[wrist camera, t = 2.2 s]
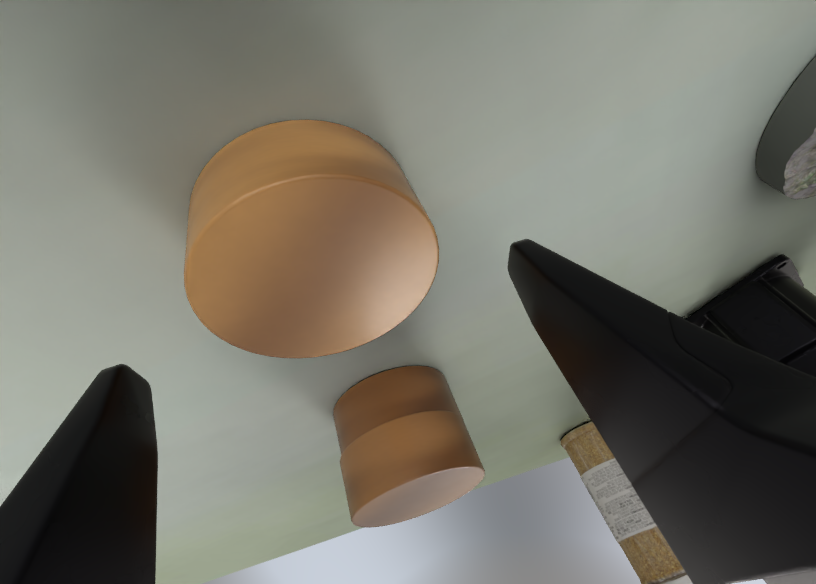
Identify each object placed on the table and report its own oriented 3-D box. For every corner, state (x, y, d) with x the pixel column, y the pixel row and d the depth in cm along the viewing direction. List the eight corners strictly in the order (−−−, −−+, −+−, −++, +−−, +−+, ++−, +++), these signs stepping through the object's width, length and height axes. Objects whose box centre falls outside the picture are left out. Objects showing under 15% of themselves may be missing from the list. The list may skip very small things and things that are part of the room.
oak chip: (449, 183, 12) (485, 237, 10) (343, 313, 15) (359, 370, 13) (248, 62, 8) (256, 116, 7) (156, 267, 11) (145, 339, 9)
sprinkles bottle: (602, 427, 38) (713, 595, 30) (558, 447, 38) (656, 619, 30) (605, 412, 35) (733, 598, 26) (557, 433, 35) (667, 625, 26)
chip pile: (470, 370, 21) (515, 464, 18) (400, 430, 24) (429, 520, 21) (374, 353, 17) (411, 469, 14) (305, 426, 20) (322, 537, 17)
